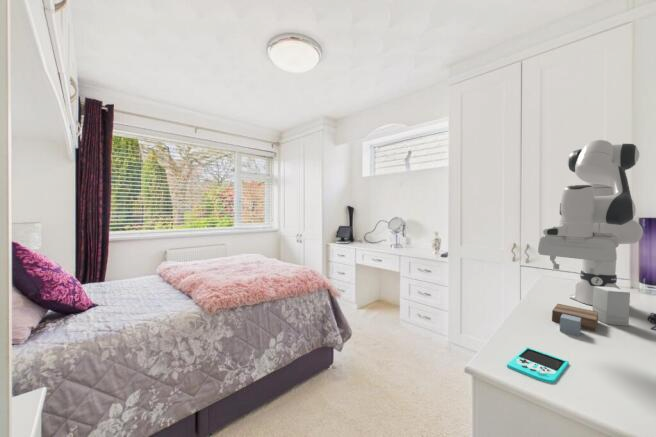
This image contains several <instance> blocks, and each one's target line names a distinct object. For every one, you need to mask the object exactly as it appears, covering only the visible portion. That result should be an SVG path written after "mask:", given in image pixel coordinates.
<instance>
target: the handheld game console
mask: <svg viewBox="0 0 656 437" xmlns="http://www.w3.org/2000/svg"><path fill="white" fill-rule="evenodd" d="M569 364H570V362H569V361H568V360H566V359H563V358H560V357H557V356H554V355H551V354H548V353H545V352H543V351H540V350H536V349H534V348H532V347H525V348H524V349H523V350H522V351H521V352H519V353H518V354H517V355H516V356H515V357H514V358H512V359H511V360H510V361H508V362H507V364H506V367H507V368H509V369H511V370H513V371H516V372H518V373H521V374H524V375H525V376H528V377H530V378H532V379H536V380H538V381H541V382H543V383H544V382H545V383H550V384H553V383H556V382H557V380H558V379H559V378H560V376H561V375H563V372H564V371H565V370H566V368H568V366H569Z"/></svg>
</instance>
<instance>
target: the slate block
mask: <svg viewBox="0 0 656 437" xmlns="http://www.w3.org/2000/svg"><path fill="white" fill-rule="evenodd" d="M581 330H582V328H581V318H579V317H575V316H570V315H566V314H562V315H561V317H560V323H559V332H560V333H561V332H563V333H564V334H569V335H573V336H576V337H579V336H580V335H581Z"/></svg>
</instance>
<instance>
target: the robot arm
mask: <svg viewBox="0 0 656 437" xmlns="http://www.w3.org/2000/svg"><path fill="white" fill-rule="evenodd" d="M639 157H640V151H639V149H638V147H637V146H636V145H635V144H634V143H622V144H612V143H611V142H610V141H608V140H603V139H598V140H597V139H596V140H593V141H590V142H588V143H586V144H585V146H583V147H582V148H580V149H576V150H574V151H572V152H571V153H570V154H569V156H568V158H567V167H568V168H569V170H570V171H571V172H573V173H575V175H576V176H577V177H578V179H580V180H581V181H582V182H585V184H575V185H568V186H566V187H563V188H564V189H563V192H562V196H561V200H560V203H559V215H560V216H561V217H560V220H559V226H553V227H550V228H549V227H548V228H545V229H543V230H542V233H543V236H541V237H540V239H539V241H538V242H539V243H538V247H537V253H538V254H539V255H540V256H541V255H542V256H548V257H549V260H550V262H551V263H552V266H553V269H554V270H560V264H559V263H557V261H556V260H555V259H556V258H557V257H559V258H568V259H578V260H581V270H580V274H579V275H580V276H579V278H580V279H578V280H577V281H576V282H575V289H574V293H573V294H571V295H569V299H571V300H575V301H577V302H579V303H583V304H584V305H585V304H586V305H588V306H589V305H590V306H593V291H594V286H599V287H615V288H618V289H621V288H620V287H619V286H618V285H617V280H618V278H617V277H618V276H617V274H616V271H617V269H616V268H617V258H618V257H617V249H616V248H618V247H619V245H630V244H636V243H638V242H639V241H640V240H641V239H642V238H643V236H644V229H643V227H642V225H641V224H640V223H639V222H637V221H636V220H634V218H635V216H636V210H637V209H636V204H635V202H634V200H633V198H632V195H631V190H630V184H629V181H628V176H627V173H626V170H630V169H632V168H633V167H634V166H636V164H637V162H638V161H639V159H640V158H639Z"/></svg>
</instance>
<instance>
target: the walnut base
mask: <svg viewBox="0 0 656 437" xmlns="http://www.w3.org/2000/svg"><path fill="white" fill-rule="evenodd" d="M562 314H566V315H570V316H575V317H579V318H581V329H585V330H589V331H593V332H596V329H597V327H598V323H599V320H598V312H596V311H593V310H591V309H586V308H581V307H576V306H572V305H571V306H570V305H566V304H561V303H557V304H556V305H555V306H554V307H553V309H552V310H551V321H552V322H556V323H559V324H560V317H561V315H562Z"/></svg>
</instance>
